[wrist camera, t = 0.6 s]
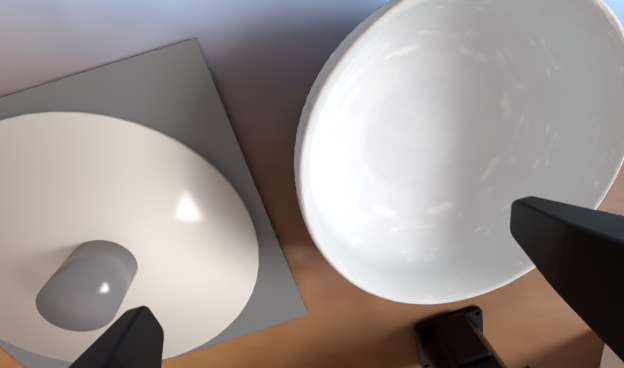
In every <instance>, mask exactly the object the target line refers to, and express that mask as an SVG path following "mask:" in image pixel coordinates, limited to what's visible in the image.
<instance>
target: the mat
mask: <svg viewBox="0 0 624 368" xmlns="http://www.w3.org/2000/svg"><path fill="white" fill-rule="evenodd" d="M53 110H70V111H88V112H95V113H102V114H109V115H113V116H117V117H121V118H125V119H129V120H133V121H136V122H139V123H142V124H144V125H147V126H150V127H152V128H155V129H158V130H160V131H162V132H164V133H166V134H168V135H170V136H172V137H174V138H176V139H178V140H180V141H182V142H183V143H185V144H186V145H188V146H189V147H191V148H193V149H194V150H196V151H197V152H199V153H200V154H201V155H203V156H204V157H205V158H206V159H207V160H209V161H210V162H211V163H212V164H213V165H215V166H216V167H217V168H218V169H219V170H220V171H221V172H222V173H223V174H224V175H225V176H226V177H227V179H228V180H229V181H230V182H231V183H232V184H233V186H234V187H235V188H236V190H237V191H238V193H239V194H240V195H241V197H242V198H243V200H244V202H245V204H246V206H247V208H248V210H249V212H250V214H251V217H252V219H253V222H254V225H255V228H256V233H257V238H258V244H259V267H258V273H257V280H256V283H255V286H254V289H253V292H252V294H251V296H250V298H249V300H248V302H247V304H246V306H245V307H244V308H243V310H242V311H241V313H240V314H239V315H238V317H237V318H236V319H235V320H234V321H233V322H232V323H231V324H230V325H229V326H228V327H227V328H226V329H224V330H223V331H222V332H221V333H219V334H218V335H217V336H216V337H214V338H212V339H211V340H209V341H208V342H206V343H204V344H203V345H201V346H198V347H196V348H194V349H192V350H190V351H188V352H185V353H182V354H180V355H183V354H186V353H189V352H193V351H196V350H199V349H202V348H205V347H209V346H212V345H215V344H218V343H221V342H224V341H228V340H231V339H234V338H237V337H240V336H243V335H247V334H250V333H253V332H256V331H259V330H262V329H266V328H269V327H272V326H275V325H278V324H281V323H285V322H288V321H291V320H294V319H297V318H300V317H304V316H307V310H306V308H305V305H304V303H303V300H302V298H301V295H300V293H299V291H298V288H297V286H296V283H295V281H294V278H293V276H292V273H291V271H290V268H289V266H288V263H287V261H286V258H285V256H284V253H283V251H282V248H281V246H280V244H279V241H278V239H277V236H276V234H275V231H274V229H273V226H272V224H271V221H270V219H269V216H268V214H267V211H266V209H265V206H264V204H263V201H262V199H261V196H260V194H259V192H258V189H257V187H256V184H255V182H254V179H253V177H252V174H251V172H250V169H249V167H248V164H247V162H246V159H245V157H244V154H243V152H242V149H241V147H240V145H239V142H238V140H237V137H236V135H235V132H234V130H233V127H232V125H231V122H230V120H229V117H228V115H227V112H226V110H225V107H224V105H223V102H222V100H221V98H220V95H219V93H218V90H217V88H216V85H215V83H214V80H213V78H212V75H211V73H210V70H209V68H208V65H207V63H206V60H205V58H204V55H203V53H202V50H201V48H200V46H199V43H198V41H197V38H193V39H190V40H187V41H184V42H180V43H177V44H174V45H171V46H167V47H164V48H161V49H158V50H154V51H151V52H148V53H144V54H141V55H138V56H135V57H131V58H128V59H125V60H122V61H118V62H115V63H112V64H109V65H105V66H102V67H99V68H96V69H92V70H89V71H86V72H83V73H79V74H76V75H73V76H70V77H66V78H63V79H60V80H57V81H53V82H50V83H47V84H44V85H40V86H37V87H34V88H31V89H27V90H24V91H21V92H18V93H14V94H11V95H8V96H5V97H1V98H0V120H3V119H6V118H10V117H14V116H18V115H23V114H27V113H33V112H43V111H53ZM0 347H2V348H3V349H4V350H5V351H6V352H7V353H9V354H10V355H11V356H12V357H13V358H14V359H16V360H17V361H18V362H19V363H20V364H21V365H22V366H24V367H25V368H68V367H69V366H70V365H71V364H72V363H73V362H67V361H62V360H58V359H53V358H49V357H45V356H42V355H39V354H36V353H32V352H29V351H26V350H24V349H21V348H19V347H16V346H14V345H11V344H9V343H7V342H5V341H3V340H1V339H0ZM180 355H177V356H180ZM177 356H174V357H177ZM174 357H170V358H174ZM170 358H167V359H170ZM167 359H163V360H162V361H164V360H167Z"/></svg>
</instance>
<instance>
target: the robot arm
mask: <svg viewBox="0 0 624 368" xmlns="http://www.w3.org/2000/svg"><path fill="white" fill-rule="evenodd" d="M510 232H511V235H512V236H513V238H514V239H515V241H516V242H517V243H518V244H519V246H520V247H521V248H522V250H523V251H524V252H525V253H526V255H527V256H528V257H529V258H530V260H531V261H532V262H533V264H534V265H535V266H536V267H537V269H538V270H539V271H540V272H541V274H542V275H543V276H544V278H545V279H546V280H547V281H548V283H549V284H550V285H551V286H552V287H553V288H554V290H555V291H556V292H557V293H558V294H559V295H560V296H561V297H562V298H563V300H564V301H565V302H566V303H567V304H568V305H569V306H570V307H571V308H572V309H573V310H574V311H575V312H576V313H577V314H578V315H579V316H580V317H581V318H582V320H583V321H584V322H585V323H586V324H587V325H588V326H589V327H590V328H591V329H592V330H593V331H594V332H595V333H596V334H597V335H598V336H599V337H600V338H601V339H602V341H603V342H604V343H605V344H606V345H607V346H608V347H609V348H610V349H611V350H612V351H613V352H614V353H615V354H616V355H617V356H618V357H619V358H620V359H621V360H622V361H623V363H624V216H621V215H617V214H612V213H608V212H603V211H598V210H594V209H589V208H585V207H580V206H576V205H571V204H567V203H562V202H558V201H553V200H548V199H544V198H539V197H535V196H527V197H523V198H520V199H516V200H514V201H513V202H512V204H511V214H510ZM414 332H415V338H416V343H417V349H418V355H419V360H420V365H421V367H422V368H507V367H506V365H505V364H504V363H503V361H502V360H501V358H500V357H499V356H498V354H497V353H496V352H495V350H494V349H493V347H492V346H491V345H490V343H489V342H488V341H487V339H486V338H485V336H484V335H483V317H482V310H481V309H480V307H478V306H475V307H471V308H468V309H465V310H462V311H459V312H456V313H452V314H449V315H446V316H443V317H440V318H437V319H434V320H430V321H427V322H424V323H421V324H418V325H416V326H415V327H414ZM163 344H164V331H163V328H162V326H161V325H160V323H159V322H158V320H157V319H156V317H155V316H154V314H153V313H152V311H151V310H150V309H149V307H147V306H139V307H135V308H132V309H129V310H127V311H125V312H124V313H123V314H122V315H121V316H120V317H119V318H118V319H117V320H116V321H115V322H114V323H113V324H112V325H111V326H110V327H109V328H108V329H107V330H106V331H105V332H104V333H103V334H102V335H101V336H100V337H99V338H98V339H97V340H96V341H95V342H94V343H93V344H92V345H91V346H90V347H89V348H88V349H87V350H86V351H84V352H83V353H82V354H81V355H80V356H79V357H78V358H77V359H76V360H75V361H74V362H73V363H72V364H71V365H70V366H69V367H68V368H161V363H162V353H163ZM523 368H530V367H529V366H528V365H527V366H525V367H523Z"/></svg>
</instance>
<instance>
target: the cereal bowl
mask: <svg viewBox="0 0 624 368" xmlns="http://www.w3.org/2000/svg"><path fill="white" fill-rule="evenodd" d="M294 150H295V153H294V170H295V184H296V189H297V196H298V200H299V206H300V210H301V213H302V217H303V219H304V222H305V224H306V227H307V229H308V232H309V234H310V236H311V238H312V240H313V242H314V243H315V245H316V246H317V248H318V250H319V251H320V253H321V254H322V255H323V257H324V258H325V259H326V260H327V261H328V263H329V264H330V265H331V266H332V267H333V268H334V269H335V270H336V271H337V272H338V273H339V274H341V275H342V276H343V277H344V278H346V279H347V280H348V281H349V282H351V283H352V284H354V285H355V286H357V287H358V288H360V289H362V290H364V291H366V292H369V293H371V294H373V295H376V296H379V297H381V298H385V299H389V300H392V301H396V302H402V303H410V304H440V303H448V302H454V301H459V300H463V299H467V298H471V297H475V296H478V295H481V294H484V293H487V292H490V291H492V290H494V289H497V288H499V287H501V286H504V285H506V284H508V283H510V282H512V281H513V280H515V279H517V278H519V277H520V276H522V275H524V274H525V273H527V272H529V271H530V270H532V269H533V268H535V267H536V266H535V265H534V264H533V262H532V261H531V260H530V258H529V257H528V256H527V255H526V253H525V252H524V251H523V250H522V248H521V247H520V246H519V244H518V243H517V242H516V241H515V239H514V238H513V236H512V235H511V232H510V214H511V204H512V202H513V201H514V200H516V199H520V198H523V197H527V196H535V197H539V198H544V199H548V200H553V201H558V202H562V203H567V204H571V205H576V206H580V207H585V208H589V209H594V210H596V209H597V207H598V206H599V204H600V203H601V201H602V200H603V198H604V197H605V195H606V194H607V192H608V190H609V189H610V187H611V185H612V183H613V182H614V180H615V178H616V176H617V174H618V172H619V170H620V168H621V165H622V163H623V161H624V28H623V26H622V25H621V23H620V21H619V20H618V18H617V17H616V15H615V14H614V12H613V11H612V10H611V9H610V8H609V7H608V6H607V5H606V3H605V2H604V1H603V0H391V1H390V2H389V3H387V4H386V5H384V6H383V7H381V8H379V9H377V10H376V11H375V12H374V13H372V14H370V15H369V17H368V18H367V19H366V20H364V21H363V22H361V23H360V24H358V26H357V27H356V28H355V29H354V30H353V31H352V32H351V33H350V34H348V35H347V37H346V38H345V39H344V40H343V41H342V42H341V43H340V45H339V46H338V48H337V49H336V50H335V51H334V52H333V53H332V54H331V56H330V58H329V59H328V60H327V62H326V63H325V65H324V66H323V68H322V70H321V71H320V73H319V74H318V76H317V78H316V80H315V82H314V84H313V86H312V87H311V90H310V93H309V94H308V96H307V99H306V103H305V105H304V107H303V109H302V114H301V117H300V123H299V125H298V128H297V134H296V144H295V147H294Z"/></svg>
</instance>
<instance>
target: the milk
mask: <svg viewBox="0 0 624 368" xmlns="http://www.w3.org/2000/svg"><path fill="white" fill-rule="evenodd" d="M600 368H624V363H623V361H622V360H621V359H620V358H619V357H618V356H617V355H616V354H615V353H614V352H613V351H612V350H611V349H610V348H609V347H608V346H607V345H606V344H605V345H604V350H603V355H602V359H601V364H600Z"/></svg>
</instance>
